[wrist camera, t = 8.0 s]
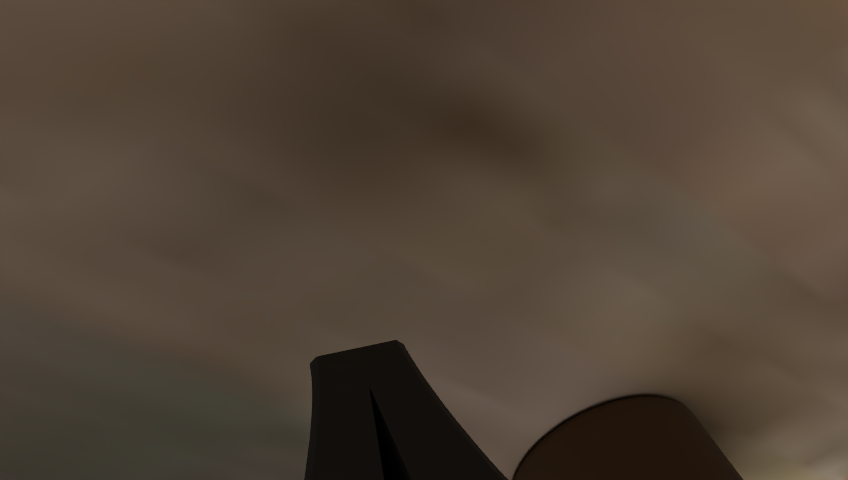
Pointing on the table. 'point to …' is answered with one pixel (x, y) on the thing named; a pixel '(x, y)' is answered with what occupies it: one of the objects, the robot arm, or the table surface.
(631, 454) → the olive oil
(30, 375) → the table surface
